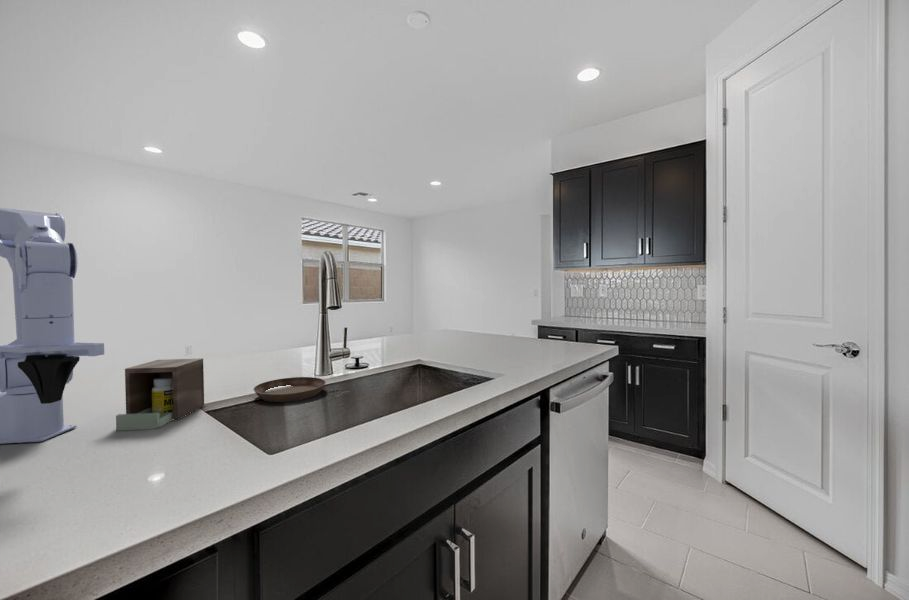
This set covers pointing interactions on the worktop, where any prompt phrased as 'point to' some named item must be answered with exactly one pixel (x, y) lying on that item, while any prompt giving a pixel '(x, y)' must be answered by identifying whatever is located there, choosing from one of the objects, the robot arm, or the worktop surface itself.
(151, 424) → the tray
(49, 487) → the worktop surface
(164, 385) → the supplement bottle
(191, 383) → the wooden open box
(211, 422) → the worktop surface
